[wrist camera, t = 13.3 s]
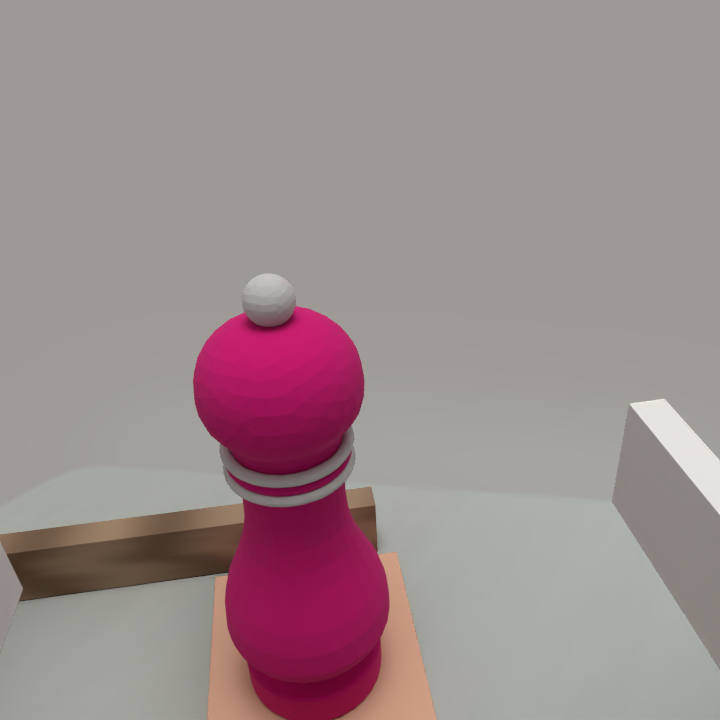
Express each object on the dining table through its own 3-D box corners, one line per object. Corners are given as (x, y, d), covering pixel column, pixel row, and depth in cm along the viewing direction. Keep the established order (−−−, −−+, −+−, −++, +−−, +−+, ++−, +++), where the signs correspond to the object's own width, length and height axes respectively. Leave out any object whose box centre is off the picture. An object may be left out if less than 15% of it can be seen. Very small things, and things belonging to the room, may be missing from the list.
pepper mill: (213, 648, 33) (119, 272, 23) (336, 576, 37) (302, 220, 26) (289, 770, 28) (212, 358, 18) (423, 673, 32) (423, 279, 21)
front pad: (396, 555, 38) (396, 551, 38) (449, 775, 28) (449, 771, 28) (216, 580, 37) (215, 576, 37) (203, 817, 27) (201, 813, 27)
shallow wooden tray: (373, 532, 40) (371, 486, 38) (436, 833, 26) (437, 784, 24) (-19, 585, 38) (-41, 539, 36) (-170, 940, 24) (-218, 896, 23)
